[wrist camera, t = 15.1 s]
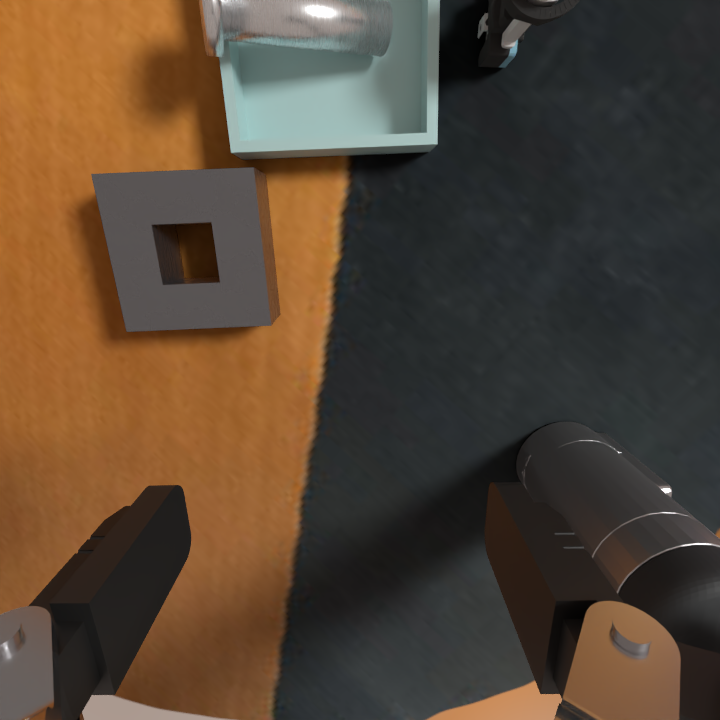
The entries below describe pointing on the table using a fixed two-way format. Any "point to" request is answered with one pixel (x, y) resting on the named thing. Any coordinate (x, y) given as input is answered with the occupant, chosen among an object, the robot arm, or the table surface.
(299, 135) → the tray
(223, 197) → the hitch block
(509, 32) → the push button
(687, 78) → the table surface
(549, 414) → the table surface
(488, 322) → the table surface
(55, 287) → the table surface
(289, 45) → the steel pin
